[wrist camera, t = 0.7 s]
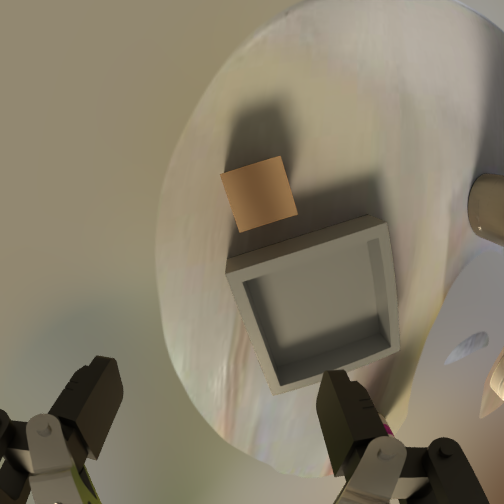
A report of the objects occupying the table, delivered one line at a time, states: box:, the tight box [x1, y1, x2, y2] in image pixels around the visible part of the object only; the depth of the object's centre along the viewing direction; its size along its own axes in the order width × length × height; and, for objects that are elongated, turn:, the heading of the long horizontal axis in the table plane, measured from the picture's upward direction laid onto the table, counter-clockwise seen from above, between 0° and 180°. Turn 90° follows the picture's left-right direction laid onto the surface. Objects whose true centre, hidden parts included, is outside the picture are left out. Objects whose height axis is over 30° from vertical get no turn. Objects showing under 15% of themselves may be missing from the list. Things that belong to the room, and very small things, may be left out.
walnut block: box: [220, 156, 298, 233], centre depth 26 cm, size 5×5×6 cm
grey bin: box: [225, 215, 400, 396], centre depth 30 cm, size 16×16×4 cm
